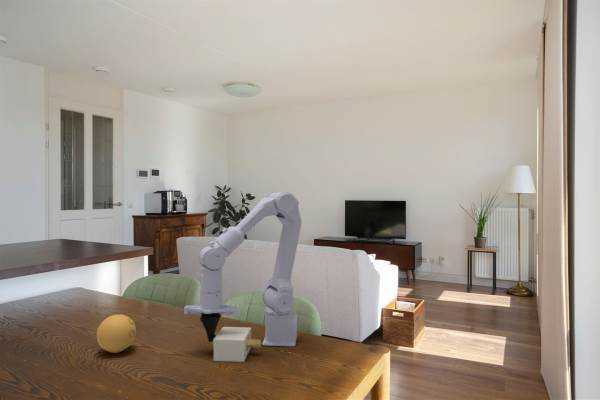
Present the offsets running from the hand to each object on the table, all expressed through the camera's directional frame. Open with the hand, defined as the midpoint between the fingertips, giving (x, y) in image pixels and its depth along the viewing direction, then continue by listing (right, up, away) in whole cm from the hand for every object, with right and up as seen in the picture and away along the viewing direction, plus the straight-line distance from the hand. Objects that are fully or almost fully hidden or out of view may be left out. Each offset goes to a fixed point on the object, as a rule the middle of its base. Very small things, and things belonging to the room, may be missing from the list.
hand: (211, 340), depth 111 cm
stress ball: (-26, -3, +1) cm, 26 cm away
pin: (+7, -2, 0) cm, 8 cm away
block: (+6, -4, 0) cm, 7 cm away
